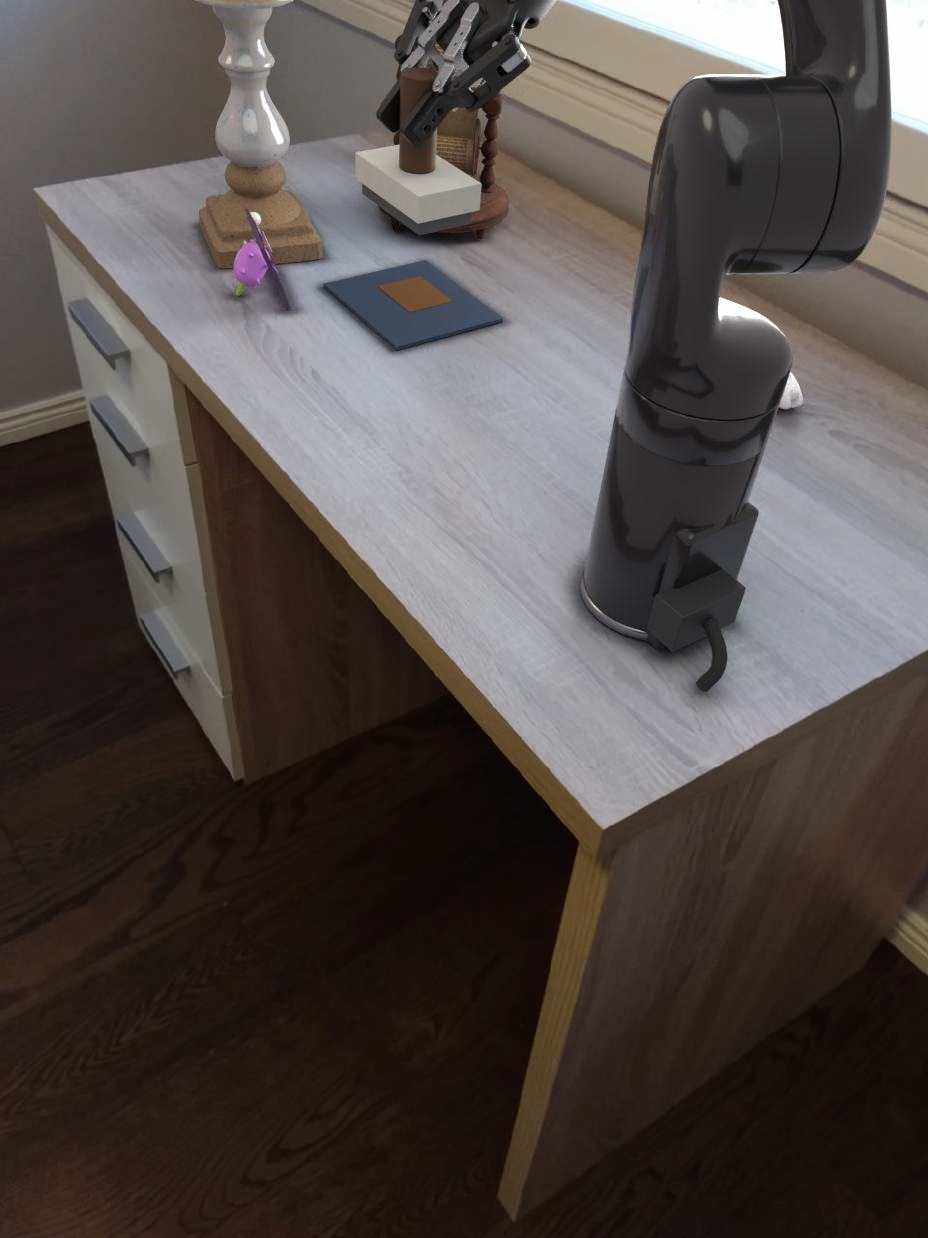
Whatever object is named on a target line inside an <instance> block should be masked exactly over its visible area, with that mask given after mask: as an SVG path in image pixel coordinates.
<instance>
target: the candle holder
mask: <svg viewBox="0 0 928 1238" xmlns="http://www.w3.org/2000/svg"><path fill="white" fill-rule="evenodd" d="M193 1H194V2H196V3H200V4H202V5H207V6H210V7H212V11H213V13H214V16H216V18H217V19H218V20H219V21H220V23H221V24H222V26H223V27H222V28H223V30H224V35H225V42H224V45H223V46H224V47H223V48H222V50H221V53H220V54H219V55H218V60H217V61H218V64H219V66H221V67H222V68H223V69H224V73H225V74H226V76H227V78H228V80H229V83H230V91H229V92H230V93H229V95H228V98H227V100H226V103H225V104H224V105H225V106H224V107H223V109H222V110H221V113H220V114H219V117H218V119H217V122H216V124H215V128H214V141H215V145H216V148H217V149H218V151H219V152H220V154H221V155H223V157H224V158H226V159H227V160H228V161H230V162H229V163H228V164H227V166H226V167H225V169H224V180H225V183H226V185H228V187H229V188H230V189H229V190H228V191H227V192H225V193H224V194H215V195H210V196H207V197H206V198H205V206H204V207H201V208H199V209H198V217H199V227H200V230H201V234H202V235H203V237H204V240H205V242H206V245H207V248H208V249H209V252H210V254H211V257H212V258H213V261H214V263H215V264H216V266H217V268H219V269H234V261H235V258H236V255H237V253H238V252H239V250H240V249H241V248H242V247H243V245H244V240H245V241H246V243H250V242H251V241H249V240H251V239H252V240H254V239H256V238H255V236H254V233H253V230H252V228H251V225H250V223H249V220H248V217H247V215H246V212H245V209H246V208H248V209H249V211H250V212H256V213H258V214H259V215H260V217H261V222H260V224H259V225H258V227H259V228H258V229H259V230H260V232H261V234H262V236H263V238H264V239H263V238H262V236H261V238H262V240H263V242H264V244H265V246H266V249H267V250H268V253H269V256H270V258H271V260H272V262H273V259H274V261H275V265H277V264H289V263H290V264H291V263H298V262H309V261H314V260H315V261H316V260H321V259H323V257H324V255H323V241H322V239H321V236H320V234H319V232H318V231H317V229H316V227H315V226H314V224H313V223H312V221H311V219H310V217H309V215H308V213H307V211H306V210H305V208H304V206H303V205H302V203H301V201H300V200H299V198H298V197H297V196H296V194H294V193H293V191H291V190H290V189H282V188H283V187H284V186H285V184H286V181H287V174H286V173H287V172H286V170H285V169H284V167H283V165H282V164H281V163H280V162H279V161H280V160H281V159H283V158H284V156H285V155H286V154H287V152H288V151H289V149H290V145H291V134H290V131H289V128H288V126H287V123H286V121H285V119H284V118H283V116H282V114H281V113H280V112H279V110H278V109H277V107H276V105H275V104H274V102H273V101H272V98H271V96H270V94H269V92H268V89H267V82H268V78H269V76H270V74H271V69H272V68H273V67H274V66H275V64H276V60H275V58H274V56H273V55H272V53H271V52H270V50H269V48H268V47H267V44H266V41H265V30H266V29H265V28H266V25H267V23H268V22H269V20H270V18H271V17H272V14H273V8H277V7H282V6H285V5H288V4H291V3H292V2H294V1H295V0H193ZM262 231H263V232H264V234H263V232H262ZM264 235H265V236H266V239H267V241H268V243H269V245H270V248H271V250H272V252H271V250H270V251H269V249H270V248H269V249H268V247H269V245H268V243H267V241H266V239H265V236H264ZM264 240H265V241H264ZM265 242H266V243H265ZM266 244H267V245H268V247H267V245H266ZM270 252H271V253H270ZM271 254H272V255H271ZM272 256H273V258H272Z"/></svg>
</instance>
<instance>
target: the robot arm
mask: <svg viewBox="0 0 928 1238" xmlns="http://www.w3.org/2000/svg"><path fill="white" fill-rule="evenodd" d="M557 1H558V0H415V1H414V4H413V5H412V8H411V10H410V13H409V16H408V18H407V20H406V23H405V26H404V28H403V31H402V33H401V35H402V36H401V38H400V41H399V43H398V46H397V48H396V49H395V51H394V53H393V58H394V59H395V61H396V62H397V63H398V66H399V65H400V67H401V71H402V70H404V69H407V68H414V67H419V68H425V66H426V64H427V61H428V59H429V57H430V58H431V59H432V64H431V66H430V67H429V68H428V69H432V70H434V71H436V72H438V73H439V74H438V76H437V77H436V79H435V81H434V82H433V84H432V90H433V92H431V91H429V90H427V91H426V92H425V93H424V95H423V96H422V97H421V99H420V100H419V102H418V103H417V104H416V106H415V107H414V108H413V110H412V111H411V112H410V114H409V115H408V117H407V118H406V119H405V121H404V122H403V123H402V125H401V127H400V80H401V76H400V78H399V79H398V81H397V80H396V82H395V83H394V85H393V86H392V87H391V89H390V90H389V91H388V93H387V95H386V96H385V97H384V98H383V100H381V101H382V102H381V103H380V104H379V106H378V108H377V110H376V112H375V117H376V119H377V120H378V121H379V122H380V123H381V125H383V127H384V128H385V129H386V130H388V131H390V132H391V133H393V134H396V132H398V131H399V129H400V133H401V134H402V135H403V137H404V138H405V139H406V140H407V141H408V142H409V143H410V144H411V145H412V146H414V147H416V148H420V147H422V146H423V144H424V143H425V142H426V141H427V140H428V139H430V137H431V136H432V134H433V132H435V130H436V129H437V128H438V126H439V125H440V124H441V122H442V121H443V120H444V118H445V117H446V116H447V114H448V113H449V112H450V111H451V112H455V111H457V110H458V109H459V108H465V109H466V110H467V111H468V112H474V111H475V110H477V109H478V108H479V107H480V106H482V105H483V104H484V103H485V102H486V101H488V100H489V99H490V98H491V97H493V96H494V95H495V94H496V93H498V92H499V91H500V90H501V89H502V90H503V89H504V88H505V87H506V86H508V85H509V84H511V82H513V81H514V80H515V79H516V78H518V77H519V76H520V75H521V74H523V73H524V72H525V71H527V70H528V69H529V68H530V66H531V64H532V58H531V57H530V56H529V53H528V52H527V50H526V49H525V47H524V46H523V44H522V43H521V42H520V38H521V36H522V34H523V31H524V29H526V30H532V29H536V28H538V26H539V25H540V24H541V23H542V21H543V20H544V18H545V17H546V16H547V14H548V13H549V12H550V10H551V9H552V7H553V6H555V4H556V2H557ZM776 2H777V8H778V13H779V18H780V26H781V36H782V44H783V45H782V46H783V55H784V56H783V57H784V72H785V73H784V75H783V74H725V73H724V74H722V73H721V74H719V73H718V74H704V75H699V76H695V77H693V78H691V79H689V80H687V81H686V82H685V83H683V84H682V85H681V86H680V87H679V89H678V90H677V91H676V92H675V94H674V96H673V97H672V98H671V100H670V103H669V104H668V106H667V108H666V110H665V112H664V115H663V118H662V121H661V124H660V126H659V129H658V133H657V136H656V142H655V144H654V145H655V146H654V149H653V155H652V161H651V168H650V173H649V180H648V188H647V195H646V201H645V202H646V203H645V210H644V218H643V228H642V235H641V241H640V242H641V243H640V249H639V255H638V261H637V268H636V272H635V273H636V274H635V278H634V285H633V291H632V298H631V307H630V323H629V336H628V337H629V338H628V345H627V350H626V351H627V352H626V356H625V360H624V361H625V362H624V367H623V371H622V375H621V382H620V387H619V392H618V396H617V403H616V406H615V407H616V408H615V411H614V417H613V420H612V421H613V422H612V427H611V432H610V438H609V442H608V446H607V452H606V458H605V462H604V469H603V473H602V478H601V483H600V488H599V494H598V498H597V503H596V509H595V515H594V519H593V525H592V530H591V534H590V540H589V546H588V551H587V557H586V561H585V565H584V568H583V570H582V574H581V579H580V594H581V597H582V600H583V603H584V604H585V606H586V607H587V609H588V610H589V611H590V613H591V614H592V615H593V616H594V617H595V618H596V619H597V620H598V621H600V622H601V623H602V624H604V625H605V626H606V627H608V628H610V629H611V630H613V631H615V632H618V633H619V634H622V635H625V636H628V637H631V638H634V639H638V640H642V641H646V642H647V643H649V644H650V645H651V646H652V647H653V648H654V649H656V650H657V651H661V650H663V649H665V648H667V649H668V650H669V651H671V652H672V653H675V652H676V651H679V650H681V649H682V648H684V647H686V646H689V645H690V644H693V643H694V642H697V641H699V640H701V639H702V638H705V637H706V638H707V640H708V643H709V646H710V649H711V658H712V659H711V664H710V667H709V668H708V669H707V670H706V671H705V672H704V673H703V674H701V676H700V677H699V678H698V679H697V681H696V682H695V686H696V688H697V689H698V690H700V691H701V692H705V693H707V692H709V691H710V690H711V689H712V688H713V687H714V686H715V685H716V684H717V683H718V682H719V681H720V680H721V679H722V677H723V675H724V673H725V671H726V669H727V668H726V667H727V665H728V651H727V649H728V648H727V644H726V641H725V639H724V636H723V633H722V630H721V629H723V628H725V627H727V626H729V625H731V624H734V623H735V621H736V618H737V616H738V612H739V610H740V607H741V604H742V601H743V598H744V595H745V592H746V589H747V587H746V586H744V584H743V583H741V582H740V581H738V578H739V574H740V571H741V568H742V565H743V563H744V559H745V557H746V554H747V551H748V548H749V544H750V542H751V539H752V535H753V533H754V530H755V527H756V524H757V521H758V518H759V515H760V513H759V508H758V507H756V506H755V505H753V504H752V503H751V502H749V501H750V498H751V495H752V491H753V488H754V485H755V482H756V478H757V475H758V472H759V469H760V466H761V462H762V460H763V457H764V454H765V450H766V448H767V444H768V442H769V439H770V435H771V432H772V430H773V426H774V424H775V420H776V417H777V414H778V412H779V411H778V410H779V409H780V408H779V405H780V402H781V399H782V397H783V393H784V390H785V387H786V384H787V381H788V378H789V375H790V372H791V371H792V366H793V357H794V356H793V350H792V347H791V343H790V341H789V339H788V337H787V336H786V335H785V333H784V332H783V331H782V330H781V329H780V328H779V327H778V326H777V325H776V324H775V323H773V322H772V321H770V319H768V318H767V317H765V316H763V314H760V313H759V312H757V311H755V310H752V309H751V308H748V307H747V306H744V305H741V304H739V303H737V302H733V301H731V300H728V299H726V298H724V297H721V292H722V287H723V283H724V280H725V278H726V276H747V275H748V276H750V275H751V276H752V275H756V276H757V275H791V274H812V273H813V274H816V273H817V274H818V273H819V274H821V273H823V274H824V273H829V272H835V271H839V270H842V269H845V268H847V267H848V266H850V265H851V264H852V263H854V262H855V261H856V260H857V259H858V258H859V257H860V256H861V255H862V254H863V253H864V252H865V250H866V249H867V248H868V246H869V244H870V242H871V240H872V239H873V237H874V235H875V233H876V231H877V227H878V225H879V221H880V218H881V215H882V213H883V208H884V206H885V202H886V195H887V191H888V184H889V179H890V178H889V177H890V172H891V171H890V169H891V158H892V157H891V156H892V126H893V125H892V118H893V117H892V90H891V89H892V88H891V87H892V86H891V65H890V49H889V48H890V47H889V29H888V11H887V10H888V9H887V8H888V7H887V0H776ZM435 42H437V43H438V45H439V46H440V47H441V48H442V50H443V51H444V52H445V53H444V56H442V55H441V54H440V53H439V51H438V50H437V49H436V47H435ZM413 45H414V46H415V47H416V50H415V51H414V52H413V53H410V52H411V49H412V47H413ZM455 74H456V76H457V78H455V79H454V80H453V81H452V79H453V78H454V76H455ZM482 79H484V80H485V81H484V82H483V84H482V85H481V84H480V82H481V81H482ZM479 84H480V87H479V88H478V89H477V90H476V91H475V92H473V91H472V90H471V88H472V87H474V88H476V87H478V86H479ZM502 90H501V91H502ZM501 91H500V92H501ZM478 110H479V109H478Z"/></svg>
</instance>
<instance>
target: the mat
mask: <svg viewBox="0 0 928 1238" xmlns="http://www.w3.org/2000/svg"><path fill="white" fill-rule="evenodd" d="M322 287H323V289H325V290H326V291H327V292H328V293H329V294H330V295H332V296H333V297H334V298H335V299H336V300H337V301H339V302H340V303H341V304H342V305H343V306H345V308H346V309H348V310H349V311H350V312H351V313H353V314H354V315H355V316H356V317H357V318H358V319H359V320H361V321H362V322H363V323H364V324H366V326H368V327H369V328H370V329H371V330H372V331H373V332H375V333H376V334H377V335H378V336H379V337H380V338H381V339H383V340H384V342H386V343H387V344H388V345H390V347H392V348H393V349H394V350H395V351H400V350H404V349H407V348H411V347H415V346H418V345H422V344H426V343H430V342H434V341H437V340H441V339H445V338H448V337H452V336H455V335H459V334H462V333H467V332H470V331H473V330H476V329H481V328H485V327H489V326H492V325H496V324H500V323H502V322H503V320H504V318H503V317H502V316H501V315H500V314H499V313H497V312H496V311H494V310H493V309H491V307H488V305H486V304H485V303H483V302H482V301H481V300H479V299H478V298H477V297H475V296H474V295H472V294H471V293H470V292H469V291H468V290H466V289H465V288H464V287H462V286H460V285H459V284H458V283H457V282H455V281H454V280H453V279H451V278H450V277H448V276H447V275H446V274H445V273H444V272H442V271H440V269H439V268H437V267H435V266H434V265H433V264H431V263H430V262H429V261H427V260H424V259H423V260H419V261H415V262H411V263H407V264H403V265H397V266H394V267H390V268H385V269H381V270H378V271H372V272H368V273H364V274H359V275H355V276H350V277H346V278H342V279H337V280H333V281H328V282H325V283H324V282H323V285H322Z"/></svg>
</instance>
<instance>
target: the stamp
mask: <svg viewBox="0 0 928 1238" xmlns="http://www.w3.org/2000/svg"><path fill="white" fill-rule="evenodd" d="M438 74H439V73H438V72H436V71H434V70H432V69H428V68H419V67H414V68H407V69H404V70H402V71H401V80H400V127H401V125H402V123H403V122H404V121H405V119H406V118H407V117H408V115H409V114H410V112H411V111H412V110H413V108H414V107H415V106H416V104H417V103H418V102H419V100H420V99H421V97H422V96H423V95H424V93H425V92H426V91H427V90H429V91H431V92H433V90H432V84H433V82H434V81H435V79H436V77H437V76H438ZM436 145H437V129H436V130H435V132H433V134H432V136H431V137H430V139H428V140H427V141H426V142H425V143H424V144H423V146H422V147H420V148H416V147H414V146H412V145H411V144H410V143H409V142H408V141H407V140H406V139H405V138H404V137H403V135H402V134H401V133H400V136H399V145H394V144H393V145H390V146H384V147H383V146H382V147H377V148H373V149H367V150H361V151H355V152H354V155H355V157H354V158H355V159H354V160H355V161H354V163H355V179H356V180H357V181H358V182H359V183H361V194H362V195H363V196H365V198H367V199H369V200H370V201H371V202H373V203H374V204H376V206H377V207H378V206H380V207H381V208H382V209H384V210H385V211H387V212H388V213H389V214H391V215H392V216H393V217H395V218H396V219H397V220H399V221H400V222H402V223H403V224H404V225H403V224H402V225H403V226H405V227H406V228H408V229H409V230H411V231H412V232H414V233H415V234H416V235H418V236H422V235H423V236H424V235H427V234H432V233H437V232H436V231H441V230H445V229H450V228H454V227H459V226H463V225H468V224H471V223H472V212H474V211H479V210H480V197H481V183H480V182H478V181H477V180H475V179H473V178H472V177H470V176H469V175H467V174H466V173H464V172H463V171H461V170H459V169H458V168H456V167H455V166H453V165H452V164H450V163H448V162H447V161H445V160H444V159H442V158H441V157H439V156H437V155H436Z"/></svg>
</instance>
